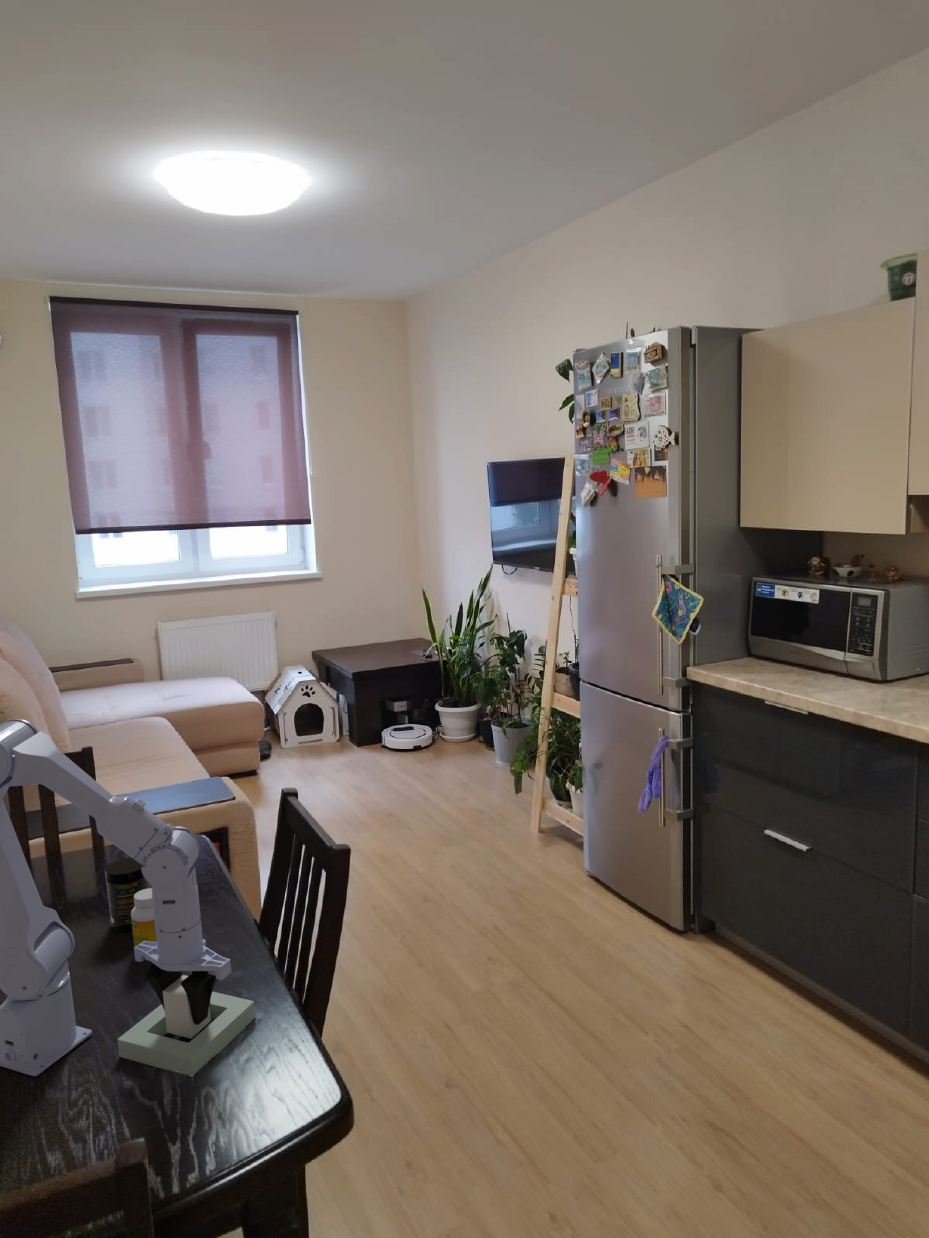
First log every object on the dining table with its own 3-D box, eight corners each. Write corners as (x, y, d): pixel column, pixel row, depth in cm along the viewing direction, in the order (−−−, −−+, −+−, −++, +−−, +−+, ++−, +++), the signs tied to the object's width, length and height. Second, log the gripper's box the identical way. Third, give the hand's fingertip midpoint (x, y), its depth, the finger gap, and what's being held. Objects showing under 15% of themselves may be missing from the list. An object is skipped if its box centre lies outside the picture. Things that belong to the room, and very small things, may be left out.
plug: (191, 1038, 115) (186, 996, 114) (167, 1032, 116) (162, 990, 115) (216, 1015, 119) (212, 975, 118) (193, 1010, 121) (189, 970, 120)
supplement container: (159, 922, 149) (153, 865, 147) (119, 937, 145) (112, 878, 143) (144, 909, 154) (138, 853, 152) (105, 922, 150) (98, 865, 148)
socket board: (192, 1077, 109) (190, 1059, 109) (119, 1056, 114) (117, 1038, 113) (255, 1017, 121) (254, 1001, 120) (186, 1000, 125) (185, 985, 125)
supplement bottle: (127, 954, 139) (121, 897, 137) (153, 938, 144) (147, 883, 142) (151, 962, 136) (145, 904, 135) (177, 945, 141) (171, 889, 140)
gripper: (242, 916, 115) (250, 1010, 118) (156, 900, 121) (165, 990, 123) (207, 942, 109) (216, 1041, 111) (118, 924, 115) (129, 1018, 117)
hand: (187, 1016), depth 117 cm, fingers closed on plug, 4 cm apart
